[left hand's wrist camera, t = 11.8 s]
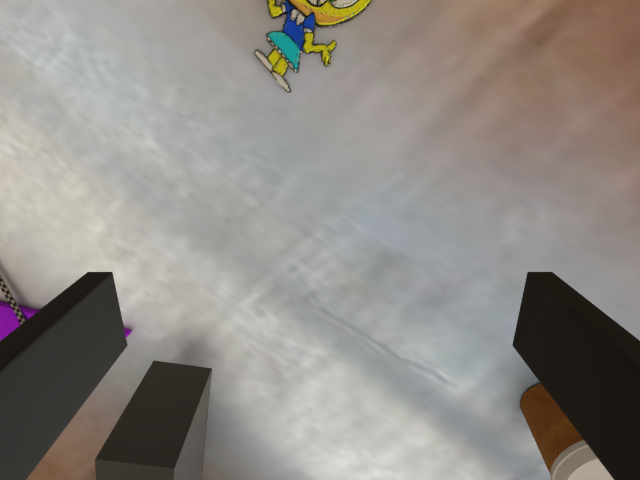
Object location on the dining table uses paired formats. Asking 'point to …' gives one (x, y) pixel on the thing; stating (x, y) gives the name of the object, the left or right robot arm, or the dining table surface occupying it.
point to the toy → (304, 32)
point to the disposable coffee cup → (559, 439)
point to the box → (160, 427)
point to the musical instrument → (16, 313)
